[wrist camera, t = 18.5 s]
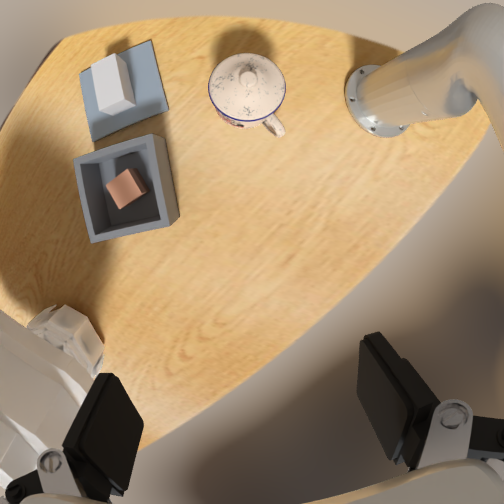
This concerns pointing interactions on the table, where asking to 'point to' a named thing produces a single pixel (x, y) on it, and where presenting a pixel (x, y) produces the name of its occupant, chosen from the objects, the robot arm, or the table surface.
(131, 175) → the block
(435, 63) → the robot arm
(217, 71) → the teacup with lid
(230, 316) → the table surface
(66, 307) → the white tiered tall piece
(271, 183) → the table surface
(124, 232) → the storage box
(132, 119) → the lid
